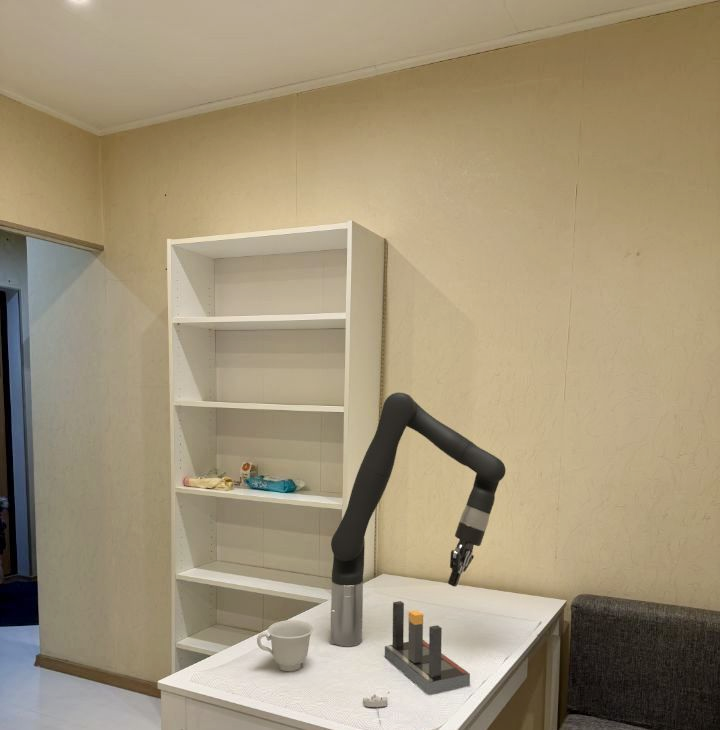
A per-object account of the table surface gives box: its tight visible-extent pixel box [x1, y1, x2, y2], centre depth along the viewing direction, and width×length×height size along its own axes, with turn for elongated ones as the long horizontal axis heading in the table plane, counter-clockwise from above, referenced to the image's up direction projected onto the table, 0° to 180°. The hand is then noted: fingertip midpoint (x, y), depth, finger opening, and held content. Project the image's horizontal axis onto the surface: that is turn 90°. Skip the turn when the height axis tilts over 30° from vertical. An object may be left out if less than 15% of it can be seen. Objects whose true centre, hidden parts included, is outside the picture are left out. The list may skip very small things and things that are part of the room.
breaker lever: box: [407, 609, 424, 663], centre depth 164 cm, size 2×3×12 cm
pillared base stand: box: [384, 600, 471, 696], centre depth 165 cm, size 12×23×15 cm, turn 25°
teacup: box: [256, 619, 314, 672], centre depth 166 cm, size 12×15×10 cm
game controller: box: [362, 694, 388, 725], centre depth 145 cm, size 6×12×3 cm, turn 23°
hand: (452, 585), depth 174 cm, fingers closed
